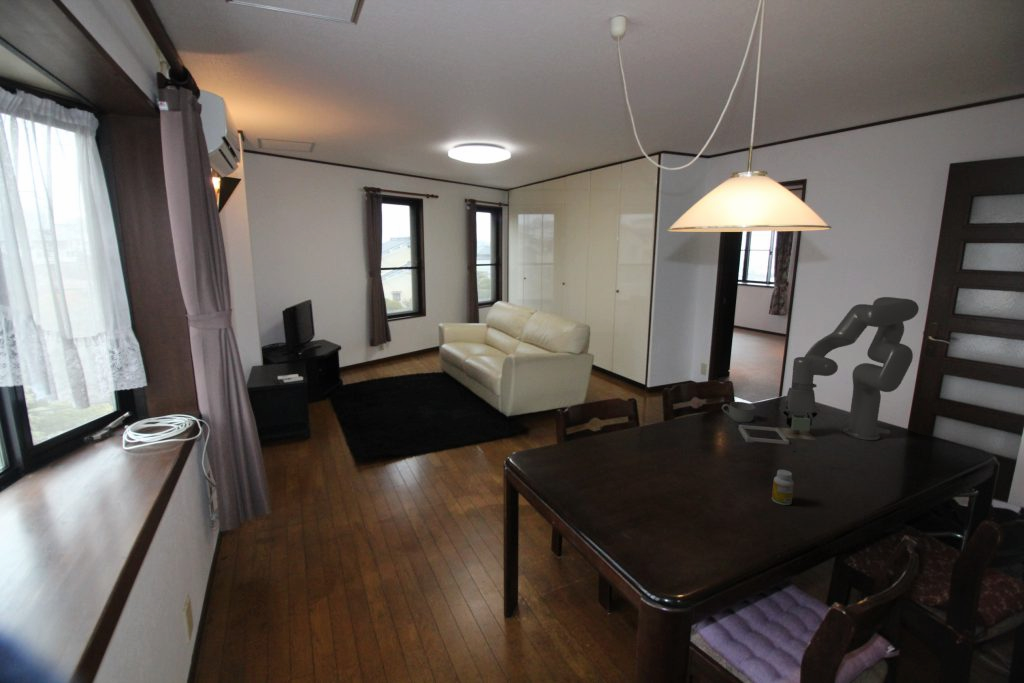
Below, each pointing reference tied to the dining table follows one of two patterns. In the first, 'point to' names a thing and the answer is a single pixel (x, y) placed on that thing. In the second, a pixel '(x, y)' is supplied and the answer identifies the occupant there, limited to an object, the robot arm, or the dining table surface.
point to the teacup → (740, 411)
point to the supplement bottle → (783, 488)
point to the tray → (750, 439)
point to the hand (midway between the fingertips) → (798, 426)
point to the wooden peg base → (796, 434)
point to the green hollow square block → (800, 422)
